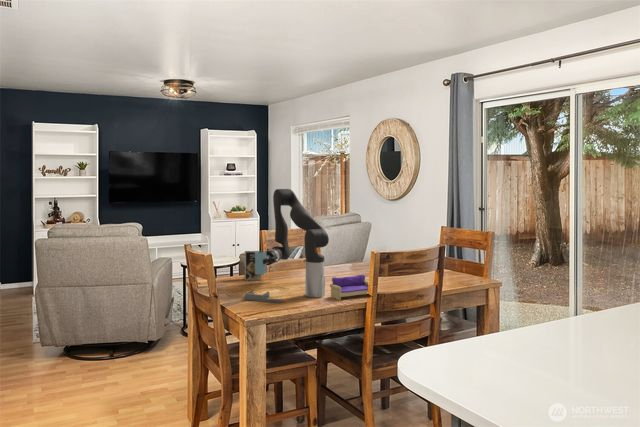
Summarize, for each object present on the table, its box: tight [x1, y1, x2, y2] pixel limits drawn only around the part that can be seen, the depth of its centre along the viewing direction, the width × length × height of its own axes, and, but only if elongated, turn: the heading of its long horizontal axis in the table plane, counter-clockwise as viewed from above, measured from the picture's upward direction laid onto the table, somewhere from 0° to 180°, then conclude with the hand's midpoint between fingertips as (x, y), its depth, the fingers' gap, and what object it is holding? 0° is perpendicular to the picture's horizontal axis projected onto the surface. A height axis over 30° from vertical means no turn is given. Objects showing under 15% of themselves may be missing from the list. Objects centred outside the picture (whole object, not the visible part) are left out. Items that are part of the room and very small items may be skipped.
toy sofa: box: [329, 273, 369, 301], centre depth 271 cm, size 21×9×10 cm, turn 120°
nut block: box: [255, 250, 268, 276], centre depth 276 cm, size 4×4×11 cm
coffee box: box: [243, 250, 262, 282], centre depth 309 cm, size 9×6×16 cm
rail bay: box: [243, 289, 284, 304], centre depth 262 cm, size 19×10×2 cm, turn 75°
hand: (258, 261), depth 273 cm, fingers closed on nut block, 4 cm apart
